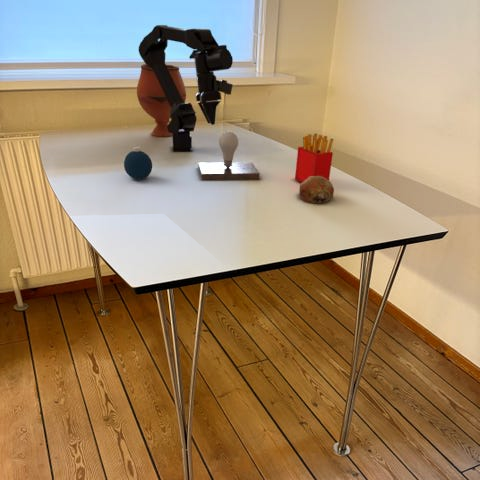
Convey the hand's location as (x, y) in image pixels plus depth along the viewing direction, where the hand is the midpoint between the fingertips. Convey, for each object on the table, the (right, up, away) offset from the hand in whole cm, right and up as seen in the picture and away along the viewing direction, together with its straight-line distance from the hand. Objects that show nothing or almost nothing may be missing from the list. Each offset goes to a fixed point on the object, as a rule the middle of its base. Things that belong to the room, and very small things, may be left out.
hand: (211, 123), depth 167 cm
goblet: (-22, +9, +33) cm, 41 cm away
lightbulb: (+6, -18, -10) cm, 22 cm away
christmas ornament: (-21, -24, -17) cm, 36 cm away
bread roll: (+31, -32, -25) cm, 51 cm away
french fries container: (+32, -24, -13) cm, 42 cm away
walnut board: (+6, -20, -9) cm, 23 cm away
